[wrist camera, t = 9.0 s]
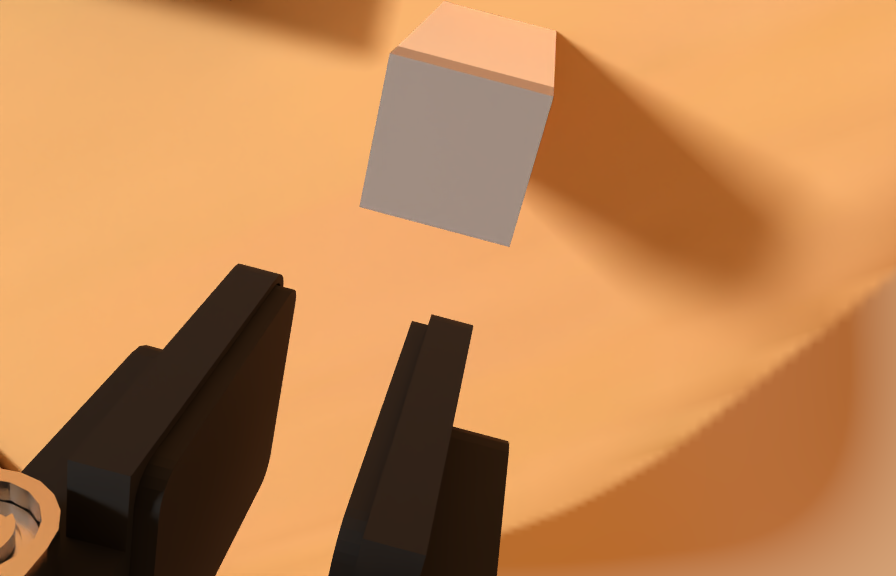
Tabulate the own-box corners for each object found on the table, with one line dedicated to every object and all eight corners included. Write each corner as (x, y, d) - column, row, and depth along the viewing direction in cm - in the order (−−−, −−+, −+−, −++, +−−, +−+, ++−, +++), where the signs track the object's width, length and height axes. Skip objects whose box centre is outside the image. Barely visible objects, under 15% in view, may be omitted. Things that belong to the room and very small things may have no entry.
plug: (524, 140, 30) (509, 246, 21) (419, 112, 30) (359, 206, 21) (556, 30, 29) (553, 96, 20) (443, 0, 29) (389, 53, 20)
